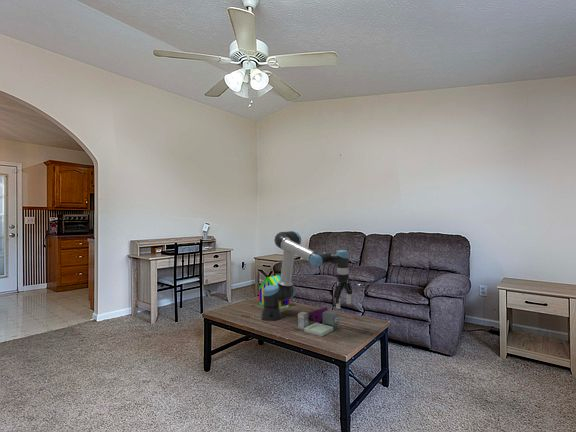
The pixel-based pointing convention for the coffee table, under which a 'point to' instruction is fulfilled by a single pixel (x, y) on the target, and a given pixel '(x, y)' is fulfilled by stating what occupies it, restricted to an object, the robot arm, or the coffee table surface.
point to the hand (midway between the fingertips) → (343, 306)
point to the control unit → (330, 319)
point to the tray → (318, 329)
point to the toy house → (267, 282)
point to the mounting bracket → (318, 314)
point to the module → (303, 320)
